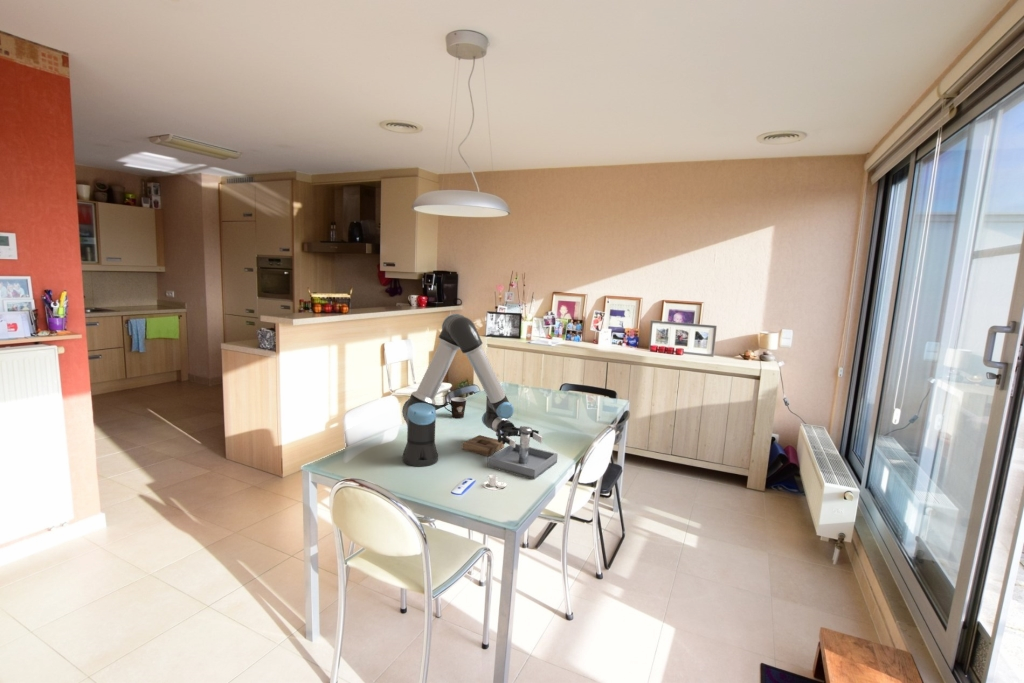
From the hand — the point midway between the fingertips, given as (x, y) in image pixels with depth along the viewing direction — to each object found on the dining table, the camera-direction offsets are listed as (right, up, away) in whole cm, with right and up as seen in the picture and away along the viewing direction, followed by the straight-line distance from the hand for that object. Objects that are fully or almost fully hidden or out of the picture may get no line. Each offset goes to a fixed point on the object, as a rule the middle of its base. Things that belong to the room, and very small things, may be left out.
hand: (528, 442), depth 211 cm
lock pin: (-2, -9, +4) cm, 11 cm away
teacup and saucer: (-14, -14, -21) cm, 29 cm away
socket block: (-20, -7, +21) cm, 30 cm away
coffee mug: (-38, 0, +67) cm, 78 cm away
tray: (-2, -10, +4) cm, 11 cm away
